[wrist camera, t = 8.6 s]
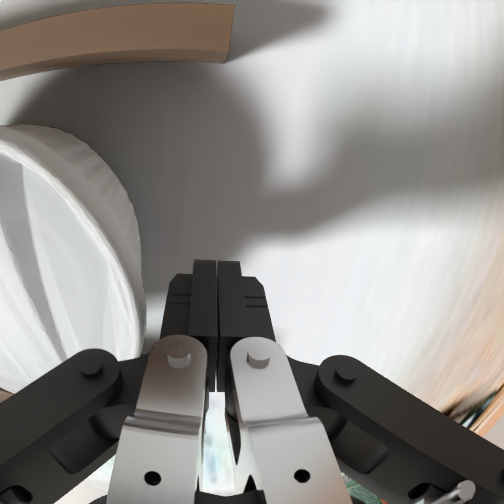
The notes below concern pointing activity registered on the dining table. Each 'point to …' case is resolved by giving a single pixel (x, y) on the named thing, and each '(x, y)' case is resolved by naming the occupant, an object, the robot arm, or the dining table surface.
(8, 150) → the ramekin
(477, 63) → the dining table surface
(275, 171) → the dining table surface
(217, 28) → the walnut bay
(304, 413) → the robot arm
